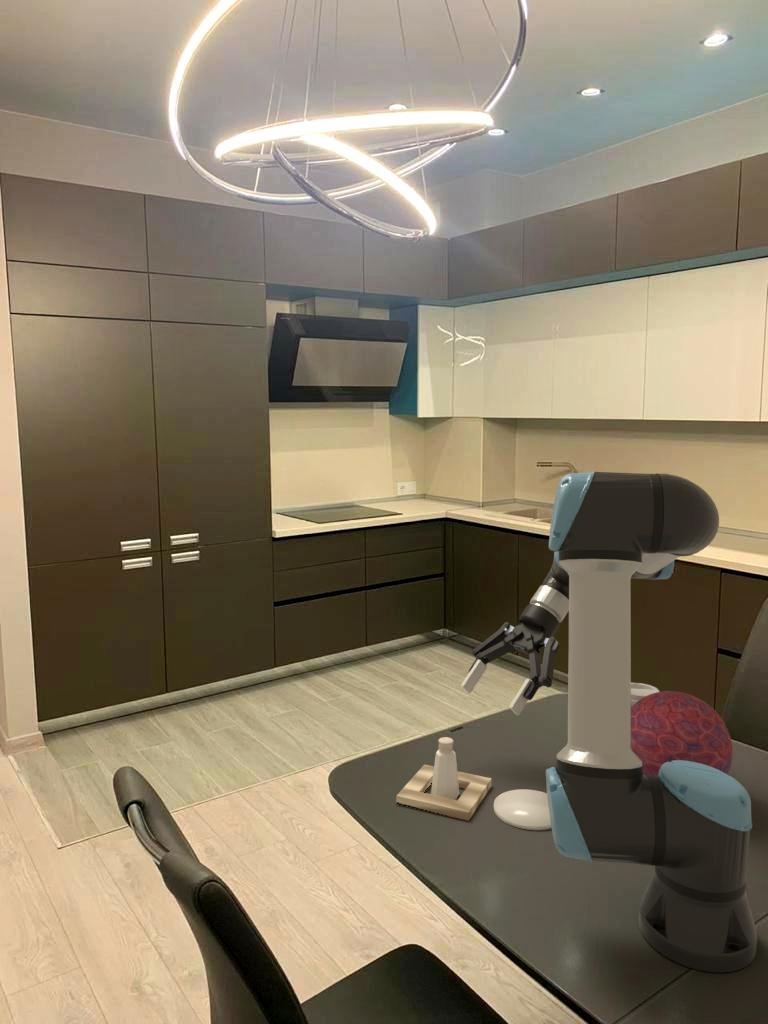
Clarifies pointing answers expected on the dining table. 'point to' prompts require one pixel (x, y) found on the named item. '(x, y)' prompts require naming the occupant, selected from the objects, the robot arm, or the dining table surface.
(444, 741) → the pepper shaker
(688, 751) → the decorative sphere
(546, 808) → the white plate
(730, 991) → the dining table surface
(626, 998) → the dining table surface
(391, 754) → the dining table surface
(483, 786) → the birch frame
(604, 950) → the dining table surface
